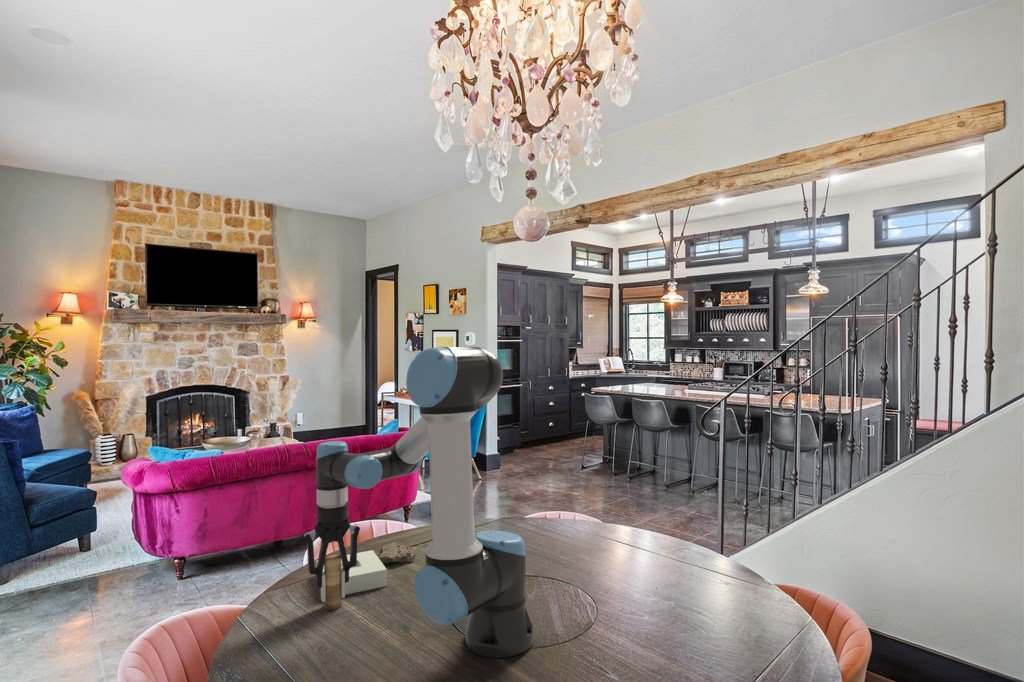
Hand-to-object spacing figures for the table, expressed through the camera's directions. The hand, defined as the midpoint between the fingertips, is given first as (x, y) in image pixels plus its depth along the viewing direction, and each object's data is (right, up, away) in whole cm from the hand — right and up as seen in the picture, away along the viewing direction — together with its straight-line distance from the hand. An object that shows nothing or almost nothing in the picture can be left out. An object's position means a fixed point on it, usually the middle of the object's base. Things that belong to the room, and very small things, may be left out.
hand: (332, 597), depth 137 cm
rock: (+10, -3, +30) cm, 31 cm away
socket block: (0, -2, +15) cm, 15 cm away
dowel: (0, -2, 0) cm, 2 cm away
